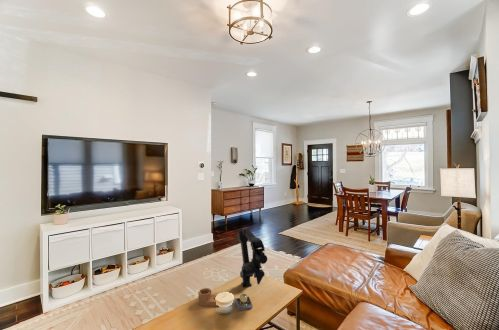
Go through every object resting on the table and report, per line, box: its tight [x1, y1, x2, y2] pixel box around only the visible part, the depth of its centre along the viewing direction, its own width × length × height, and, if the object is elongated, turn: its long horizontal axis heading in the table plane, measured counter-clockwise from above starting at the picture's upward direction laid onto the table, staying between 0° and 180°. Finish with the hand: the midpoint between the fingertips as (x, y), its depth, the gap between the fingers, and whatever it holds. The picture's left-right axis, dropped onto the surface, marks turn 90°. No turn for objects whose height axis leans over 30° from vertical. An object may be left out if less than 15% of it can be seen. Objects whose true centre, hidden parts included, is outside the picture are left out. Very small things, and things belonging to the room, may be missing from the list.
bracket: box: [198, 287, 217, 307], centre depth 152 cm, size 18×8×7 cm, turn 85°
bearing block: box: [234, 296, 253, 312], centre depth 148 cm, size 9×9×2 cm
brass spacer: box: [239, 293, 248, 306], centre depth 148 cm, size 5×5×6 cm
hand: (256, 280), depth 158 cm, fingers open, 9 cm apart
